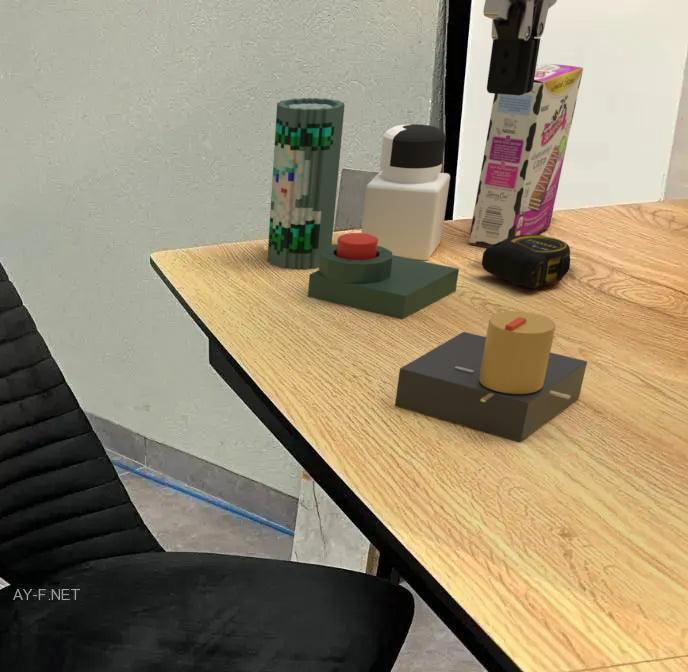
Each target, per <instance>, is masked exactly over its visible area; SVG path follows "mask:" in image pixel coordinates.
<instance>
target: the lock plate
mask: <svg viewBox="0 0 688 672" xmlns="http://www.w3.org/2000/svg"><path fill="white" fill-rule="evenodd" d="M485 341H486V336H484V335H479V334H476V333H475V334H474V333H471V332H466V331H462V332H461V333H459V334H457V335H456V336H454V337H452V338H450V339H449V340H447V341H445V342H443V343H441V344H439V345H438V346H436V347H435V348H433V349H430V350H429V351H428V352H426V353H424V354H423V355H421V356H419V357H417V358H416V359H414V360H412V361H410V362H409V363H406V364H405V365H403V366H402V367H400V368H399V371H398V372H399V373H398V380H397V388H396V393H395V400H394V401H395V402H394V406H395V407H399V408H402V409H406V410H408V411H412V412H415V413H419V414H423V415H426V416H428V417H429V416H430V417H432V418H437V419H440V420H443V421H447V422H449V423H453V424H456V425H461V426H463V427H468V428H470V429H474V430H478V431H481V432H485V433H488V434H492V435H495V436H499V437H502V438H505V439H508V440H512V441H516V442H520V443H521V442H522V441H524V440H525V439H526V438H528V437H529V436H531V435H532V434H533V433H535V432H536V431H538V430H539V429H540V428H541V427H543V426H544V425H545V424H546V423H548V422H549V421H551V420H552V419H553V418H555V417H556V416H557V415H559V414H560V413H561V412H563V411H564V410H565V409H568V407H569V406H570V405H572V404H573V403H574V402H577V400H579V399H580V396H581V391H582V386H583V382H584V377H585V372H586V370H587V364H588V361H587V360H584V359H579V358H576V357H571V356H567V355H564V354H559V353H554V352H550V356H549V360H548V365H547V370H546V375H545V379H544V384H543V387H542V388H541V389H540V390H539V391H536V392H533V393H529V394H508V393H502V392H497V391H494V390H491V389H489V388H487V387H485V386H483V385H482V384H481V383H480V381H479V375H480V369H481V364H482V358H483V352H484V347H485Z"/></svg>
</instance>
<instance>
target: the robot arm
mask: <svg viewBox="0 0 688 672" xmlns="http://www.w3.org/2000/svg"><path fill="white" fill-rule="evenodd" d="M557 1H558V0H485V1H484V6H483V16H484V17H485V18H489V19H491V39H492V46H491V53H490V54H491V55H490V60H489V67H488V74H487V83H486V91H487V93H488V94H493V95H495V94H506V95H523V94H525V93H529V92H531V91H532V89H533V84H534V77H535V71H536V64H538V56H539V51H540V43H541V37H542V36H543V34H544V31H545V27H546V23H547V22H546V21H547V17H548V12H549V9H550V8H552V7H553V6H554V5H555V4H556V3H557Z"/></svg>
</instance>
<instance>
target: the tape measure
mask: <svg viewBox="0 0 688 672" xmlns="http://www.w3.org/2000/svg"><path fill="white" fill-rule="evenodd" d="M481 266H482V269H483V270H484V271H485V272H487V273H489V274H491V275H493V276H495V277H497V278H500V279H503V280H505V281H508V282H509V283H510V284H511V285H515V286H519V285H520V286H524V287H526V288H530V289H538V288H539V287H542V286H547V285H554V284H557V283H559V282H560V281H562V280H563V278H564V277H565V276H566V275H567V273H568V272H569V271H570V267H571V248H570V246H569V244H568V243H566V241H563V240H561V239H559V238H555V237H552V236H547V235H539V234H537V235H519V236H512V237H509V238H507V239H504V240H503V241H501V242H499V243H496V244H494V245H492V246H490V247H486V248H485V250H484V251H483V253H482V259H481Z"/></svg>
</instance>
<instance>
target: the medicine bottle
mask: <svg viewBox="0 0 688 672" xmlns="http://www.w3.org/2000/svg"><path fill="white" fill-rule="evenodd" d="M446 138H447V135H446V133H445V131H444V130H442V129H440V128H438V127H436V126H434V125H429V124H418V123H409V124H399V125H395V126H393V127H390V128H388V129H387V130H386V131H385V132H384V133H383V135H382V144H381V154H380V161H379V170H380V171H379V172H378V173H377V174H376V175H375V176H374V177H373V178H372V179H371V180H370V181H369V182H368V183H366V187H365V197H364V204H363V205H364V206H363V215H362V222H361V223H362V225H361V233H363V234H369V235H373V236H375V237H377V238H378V244H377V246H381V247H384V248H386V249H388V250H389V251H391V252H392V255H394V256H399V257H404V258H409V259H414V260H419V261H423V262H428V260H430V258H431V256H433V254H434V252H435V251H436V249H437V248H438V246H439V245H440V244H441V241H442V236H443V231H444V222H445V216H446V211H447V202H448V197H449V196H448V195H449V189H450V181H451V175H450V173H447V172H442V168H443V160H444V153H445V146H446Z"/></svg>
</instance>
